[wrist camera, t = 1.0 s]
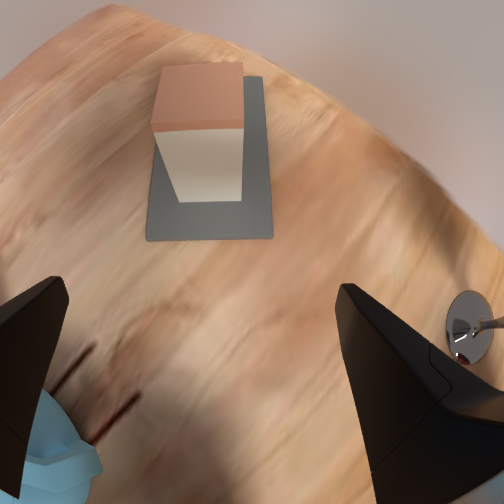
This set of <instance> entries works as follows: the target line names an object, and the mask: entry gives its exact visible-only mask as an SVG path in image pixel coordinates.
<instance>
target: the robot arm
mask: <svg viewBox="0 0 504 504" xmlns="http://www.w3.org/2000/svg"><path fill="white" fill-rule="evenodd" d="M68 304H69V296H68V293H67V290H66V287H65V284H64V281H63V279H62V278H61V277H60V276H50V277H48V278H46V279H45V280H43V281H41V282H39V283H38V284H36V285H34V286H33V287H31V288H29V289H28V290H26V291H24V292H23V293H21V294H19V295H18V296H16V297H14V298H13V299H11V300H10V301H8V302H6V303H5V304H3V305H2V306H0V490H1V491H3V492H4V493H6V494H8V495H10V496H12V497H14V498H16V499H18V500H19V497H20V491H21V483H22V477H23V470H24V464H25V459H26V454H27V448H28V446H27V445H28V443H29V438H30V434H31V429H32V425H33V421H34V417H35V413H36V409H37V406H38V402H39V398H40V395H41V392H42V388H43V385H44V382H45V378H46V375H47V372H48V369H49V366H50V363H51V360H52V357H53V354H54V351H55V348H56V346H57V343H58V339H59V336H60V332H61V329H62V325H63V321H64V318H65V314H66V311H67V307H68ZM335 314H336V320H337V326H338V332H339V339H340V345H341V351H342V356H343V360H344V363H345V367H346V371H347V374H348V378H349V382H350V386H351V390H352V394H353V398H354V402H355V406H356V410H357V414H358V418H359V422H360V426H361V430H362V435H363V439H364V444H365V448H366V453H367V457H368V462H369V466H370V471H371V477H372V482H373V487H374V492H375V497H376V503H377V504H504V391H500V390H498V389H496V388H494V387H492V386H491V385H489V384H488V383H486V382H485V381H483V380H482V379H480V378H479V377H477V376H476V375H475V374H473V373H472V372H470V371H469V370H467V369H466V368H464V367H463V366H461V365H460V364H459V363H457V362H456V361H454V360H453V359H451V358H450V357H449V356H448V355H446V354H445V353H444V352H442V351H441V350H440V349H438V348H437V347H436V346H435V345H433V344H432V343H430V342H429V341H428V340H427V339H426V338H424V337H423V336H422V335H421V334H419V333H418V332H417V331H416V330H414V329H413V328H412V327H410V326H409V325H408V324H407V323H405V322H404V321H403V320H401V319H400V318H399V317H398V316H396V315H395V314H394V313H392V312H391V311H390V310H388V309H387V308H386V307H385V306H383V305H382V304H381V303H379V302H378V301H377V300H375V299H374V298H373V297H371V296H370V295H369V294H367V293H366V292H365V291H363V290H362V289H361V288H359V287H358V286H357V285H355V284H353V283H343V284H341V285H340V288H339V291H338V296H337V300H336V304H335Z"/></svg>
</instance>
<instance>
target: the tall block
mask: <svg viewBox="0 0 504 504" xmlns="http://www.w3.org/2000/svg"><path fill="white" fill-rule="evenodd" d="M150 125H151V128H152V131H153V134H154V137H155V139H156V142H157V145H158V148H159V150H160V153H161V156H162V159H163V161H164V164H165V167H166V169H167V172H168V175H169V177H170V180H171V182H172V185H173V188H174V190H175V193H176V195H177V198H178V201H179V203H180V202H213V201H241V193H242V163H243V136H244V92H243V62H223V63H199V64H184V65H173V66H163V68H162V72H161V76H160V80H159V85H158V89H157V93H156V98H155V102H154V107H153V112H152V116H151V121H150Z"/></svg>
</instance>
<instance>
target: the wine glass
mask: <svg viewBox="0 0 504 504" xmlns="http://www.w3.org/2000/svg"><path fill="white" fill-rule="evenodd" d="M494 329H504V316H503V317H500V318H498V319H494V317H493V313H492V310H491V307H490V305H489V303H488V302H487V300H486V299H485V298H484V297H483V296H482V295H481V294H479V293H477V292H475V291H466V292H464V293H462V294H460V295H459V296H458V297H457V298H456V299H455V300H454V302H453V303H452V305H451V307H450V309H449V312H448V315H447V321H446V338H447V343H448V347H449V349H450V351H451V353H452V355H453V356H454V358H455V359H456V360H457V361H459V362H460V363H462V364H466V365H471V364H475V363H477V362H478V361H480V360H481V359H482V358H483V357H484V356H485V355H486V354H487V352H488V350H489V348H490V346H491V344H492V340H493V336H494Z"/></svg>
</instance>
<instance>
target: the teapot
mask: <svg viewBox="0 0 504 504" xmlns="http://www.w3.org/2000/svg"><path fill="white" fill-rule="evenodd" d="M27 446H28V448H27V454H26V459H25V464H24V470H23V477H22V483H21V491H20V497H19V500H18V499H16V498H14V497H12V496H10V495H8V494H6V493H4V492H3V491H1V490H0V504H85V502H86V501H87V498H88V496H89V492H90V486H91V478H92V477H94V476H96V475H98V474H100V473H102V472H104V471H103V468H102V466H101V463H100V460H99V457H98V454H97V451H96V448H95V447H93V446H91V445H89V444H88V443H86V442H84V441H82V440H81V438H80V436H79V434H78V432H77V431H76V429H75V427H74V425H73V424H72V422H71V420H70V419H69V417H68V416H67V414H66V413H65V412H64V410H63V409H62V408H61V406H60V405H59V404H58V403H57V402H56V401H55V400H54V399H53V398H52V397H51V396H50V395H49V394H48V393H47V392H46V391H45V390H44V389H42V392H41V395H40V398H39V402H38V406H37V409H36V413H35V417H34V421H33V425H32V429H31V434H30V438H29V443H28V445H27Z"/></svg>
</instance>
